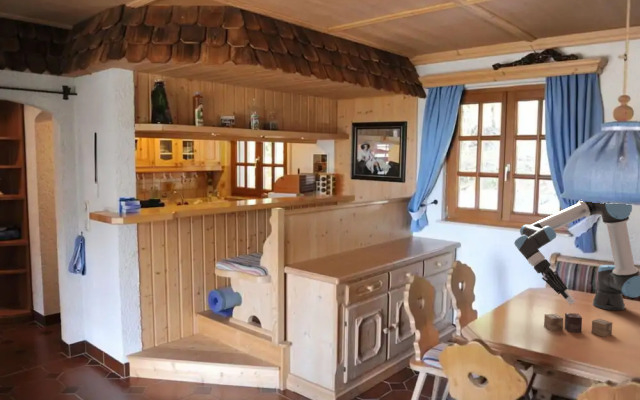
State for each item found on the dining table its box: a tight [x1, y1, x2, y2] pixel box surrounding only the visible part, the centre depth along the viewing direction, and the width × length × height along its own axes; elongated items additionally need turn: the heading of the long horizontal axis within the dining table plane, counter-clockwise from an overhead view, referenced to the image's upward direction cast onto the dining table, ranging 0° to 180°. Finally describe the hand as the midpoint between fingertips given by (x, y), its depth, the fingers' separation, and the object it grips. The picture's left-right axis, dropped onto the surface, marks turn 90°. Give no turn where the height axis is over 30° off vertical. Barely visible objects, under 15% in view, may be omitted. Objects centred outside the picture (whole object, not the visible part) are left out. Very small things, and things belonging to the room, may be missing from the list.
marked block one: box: [591, 318, 613, 338], centre depth 231 cm, size 6×6×6 cm
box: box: [564, 312, 583, 333], centre depth 235 cm, size 6×6×7 cm
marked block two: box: [543, 313, 564, 331], centre depth 238 cm, size 6×6×6 cm
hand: (572, 303), depth 235 cm, fingers closed
